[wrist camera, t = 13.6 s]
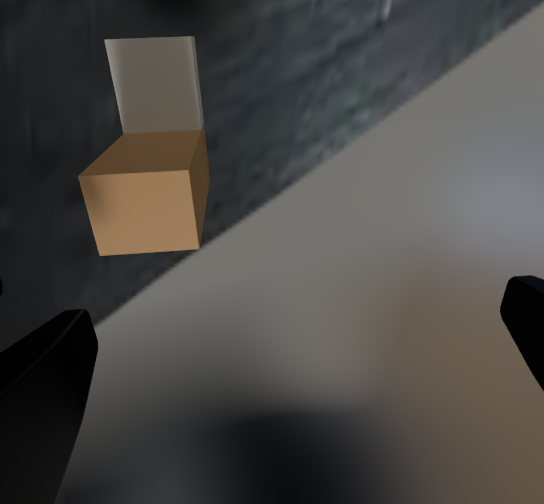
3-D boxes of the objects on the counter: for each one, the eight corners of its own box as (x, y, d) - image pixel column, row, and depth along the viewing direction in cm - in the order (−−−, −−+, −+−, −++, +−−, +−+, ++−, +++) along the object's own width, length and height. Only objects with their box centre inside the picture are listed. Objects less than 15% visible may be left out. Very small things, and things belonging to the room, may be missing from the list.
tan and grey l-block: (143, 183, 15) (99, 255, 10) (115, 39, 12) (41, 42, 8) (209, 179, 15) (199, 249, 10) (194, 36, 12) (170, 37, 8)
